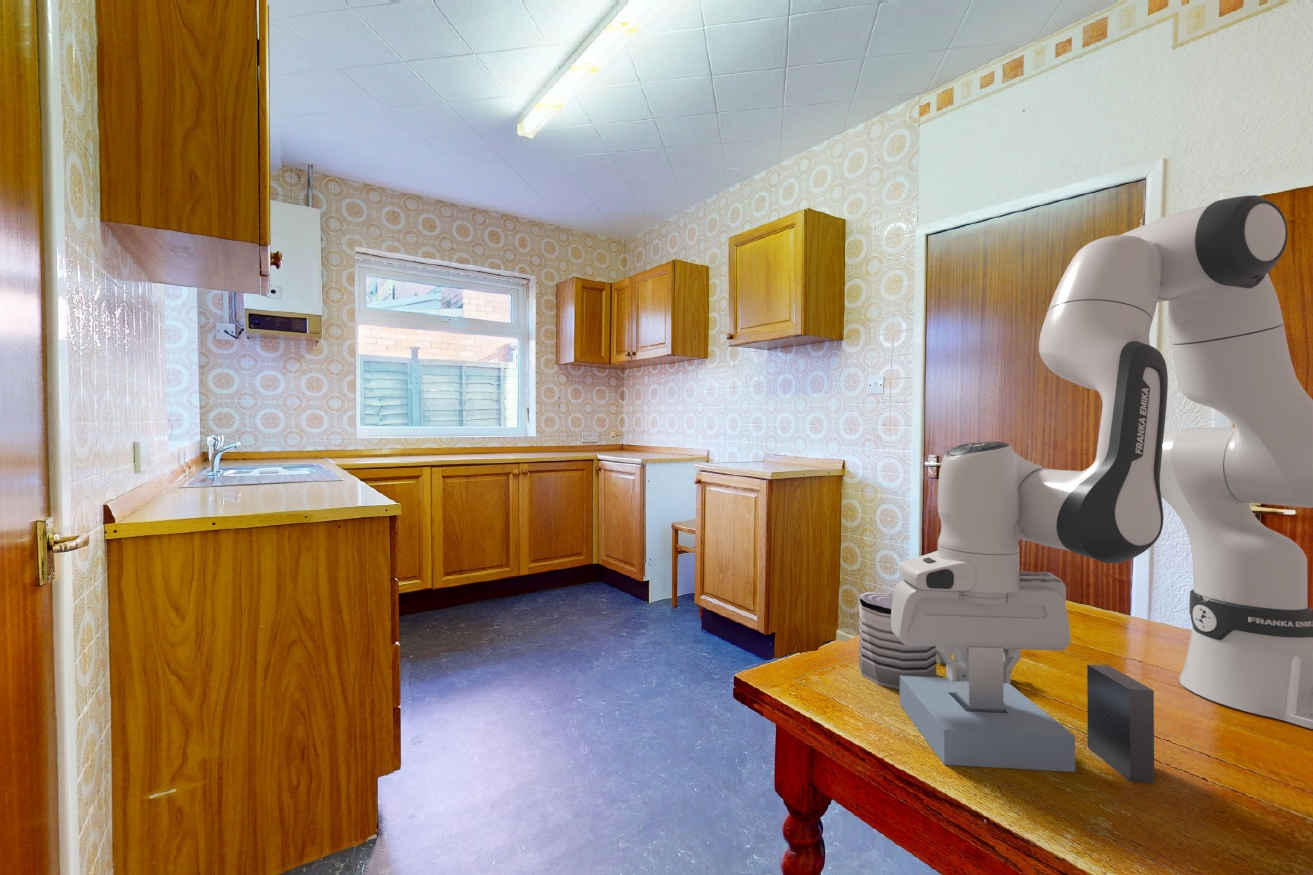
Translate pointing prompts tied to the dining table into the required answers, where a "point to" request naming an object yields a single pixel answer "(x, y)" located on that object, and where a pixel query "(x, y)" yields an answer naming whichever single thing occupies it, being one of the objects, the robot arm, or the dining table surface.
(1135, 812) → the dining table surface
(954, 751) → the bore block
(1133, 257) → the robot arm
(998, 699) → the square bit
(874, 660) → the can
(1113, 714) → the dark grey rectangular slab
